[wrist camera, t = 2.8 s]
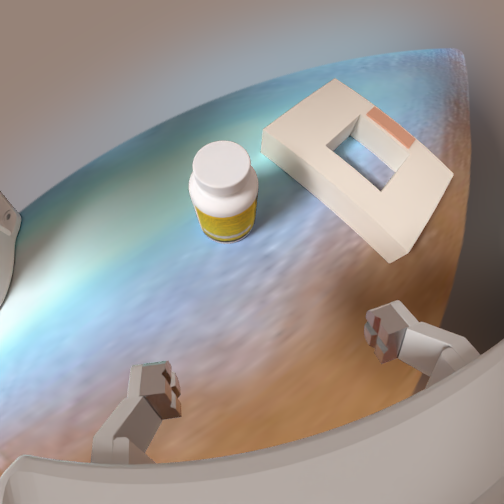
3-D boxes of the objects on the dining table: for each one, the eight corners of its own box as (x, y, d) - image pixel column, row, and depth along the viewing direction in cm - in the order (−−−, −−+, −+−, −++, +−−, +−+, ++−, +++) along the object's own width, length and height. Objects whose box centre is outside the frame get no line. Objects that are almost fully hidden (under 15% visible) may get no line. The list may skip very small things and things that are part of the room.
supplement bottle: (264, 231, 28) (274, 180, 19) (211, 253, 28) (196, 211, 18) (241, 186, 30) (241, 123, 20) (192, 205, 29) (171, 148, 19)
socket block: (260, 152, 31) (262, 127, 27) (327, 99, 34) (335, 76, 30) (389, 263, 28) (410, 252, 24) (436, 189, 31) (455, 172, 27)
